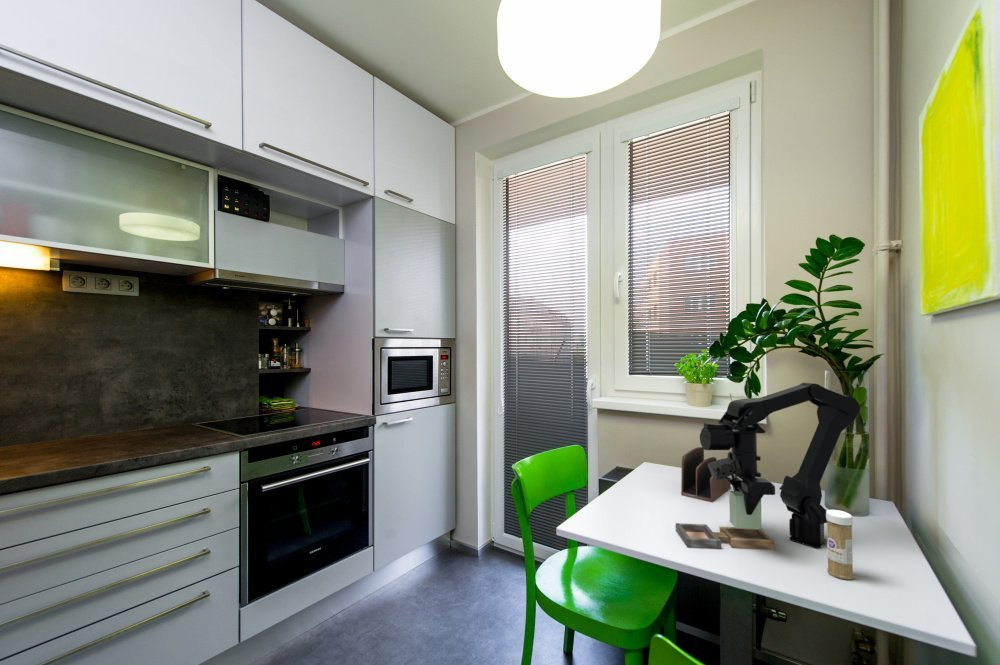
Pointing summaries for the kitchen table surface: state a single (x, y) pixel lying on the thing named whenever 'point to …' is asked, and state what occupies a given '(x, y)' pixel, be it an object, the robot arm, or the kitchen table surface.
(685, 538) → the joined double square frame
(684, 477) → the letter holder
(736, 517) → the sage peg
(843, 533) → the sprinkles bottle
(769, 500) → the kitchen table surface
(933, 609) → the kitchen table surface
